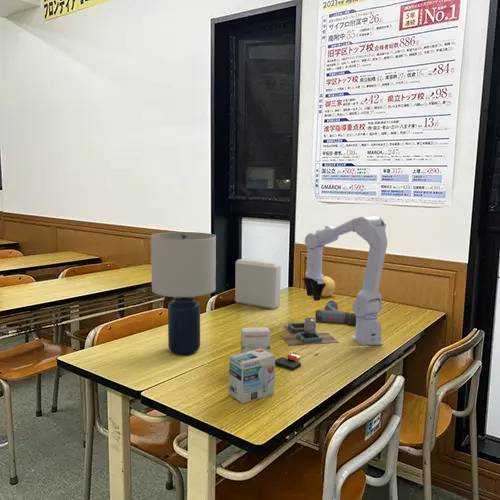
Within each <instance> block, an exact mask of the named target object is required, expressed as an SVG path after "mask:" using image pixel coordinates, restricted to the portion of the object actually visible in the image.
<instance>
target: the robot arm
mask: <svg viewBox="0 0 500 500" xmlns="http://www.w3.org/2000/svg"><path fill="white" fill-rule="evenodd" d="M386 227H387V224H386V222H385V221H384V220H383V218H381V216H379V215H374V216H358V217H356V218H352V219H351V220H348V221H346V222H343V223H342V224H340V225H338V226H336V227H335V226H333V225H326V226H324V229H318V230H316V231H315V232H314V233H313V232H310V233H308V234H306V236H305V237H304V243H305V244H304V245H305V246H306V247H307V256H306V257H307V259H306V271H305V277H302V280H303V283H304V285H305V286H304V287H305V291H306V295H307V297H313V301H317V302H318V301H320V300H321V297H322V296H321V294H322V291H323V289H324V287H325V286H326V283H323V278H322V277H324V276H325V274H323V273H322V272H323V270H322V269H323V252H324V247H325V246H326V245H328V244H331V243H333V242H336V241H337V240H339V237H340V236H342V235H345V234H347V233H351V232H353V233H354V232H355V233H356V234H357V235H358V236H360V237H361V238H362V239H363V240H364V241H365V242H367V244H368V245H369V251H368V256H367V260H366V265H365V272H364V276H363V282H362V286H361V287H362V288H361V289H360V290H359V292H358V293H357V294H356V298H355V300H354V301H353V303H352V311H353V313H355V315H356V324H355V334H354V335H350V337H351V338H352V339H354V340H355V341H356V342H357V343H359V344H360V345H361V346H363V347H367V346H369V345H372V346H379V345H380V346H381V345H383V344H384V343H383V341H381V340H382V339H381V338H382V326H381V323H380V322H379V320H378V316H379V313H380V312H381V310H382V309H383V302H382V294H381V293H380V292H379V290H380V282H381V278H382V272H383V268H384V263H385V258H386V253H387V247H388V239H387V233H386Z"/></svg>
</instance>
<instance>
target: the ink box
mask: <svg viewBox="0 0 500 500" xmlns="http://www.w3.org/2000/svg"><path fill="white" fill-rule="evenodd" d="M240 331H241V332H240V334H241V335H240V353H244V352H248V351H252V350H256V349H260V348H261V349H263V350H265V351H267V352H269V353H271V330H270V328H269V327H268V326H267V327H266V326H263V327H262V326H261V327H260V326H259V327H241V328H240Z"/></svg>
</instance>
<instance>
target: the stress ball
mask: <svg viewBox="0 0 500 500" xmlns="http://www.w3.org/2000/svg"><path fill="white" fill-rule="evenodd" d="M322 278H323V283H326V286H325V287H324V289H323V291H322V294H321V297H323V298H328V297H330V296H332V295H333V293H334V292H335V290H336V282H335V280H334V279H332V278H331V277H330V276H325V275H324V277H322Z"/></svg>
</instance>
